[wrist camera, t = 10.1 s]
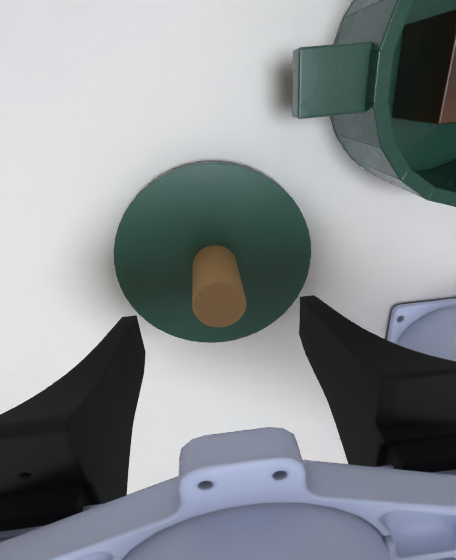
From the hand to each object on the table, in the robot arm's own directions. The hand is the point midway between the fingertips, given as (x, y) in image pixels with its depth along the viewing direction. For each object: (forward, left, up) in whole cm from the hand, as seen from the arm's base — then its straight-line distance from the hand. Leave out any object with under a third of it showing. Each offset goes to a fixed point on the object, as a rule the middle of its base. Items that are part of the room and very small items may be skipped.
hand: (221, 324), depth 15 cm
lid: (0, 0, -7) cm, 7 cm away
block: (+9, -12, -7) cm, 17 cm away
